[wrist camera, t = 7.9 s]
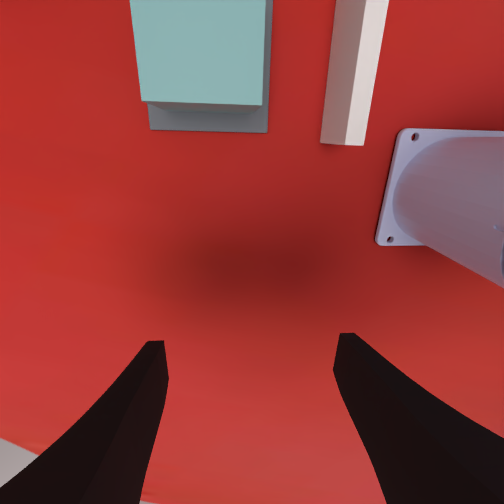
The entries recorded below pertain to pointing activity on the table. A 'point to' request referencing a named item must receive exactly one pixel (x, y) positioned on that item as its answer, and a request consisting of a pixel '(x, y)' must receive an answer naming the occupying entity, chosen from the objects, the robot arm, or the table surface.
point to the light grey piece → (352, 70)
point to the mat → (222, 121)
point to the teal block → (200, 54)
